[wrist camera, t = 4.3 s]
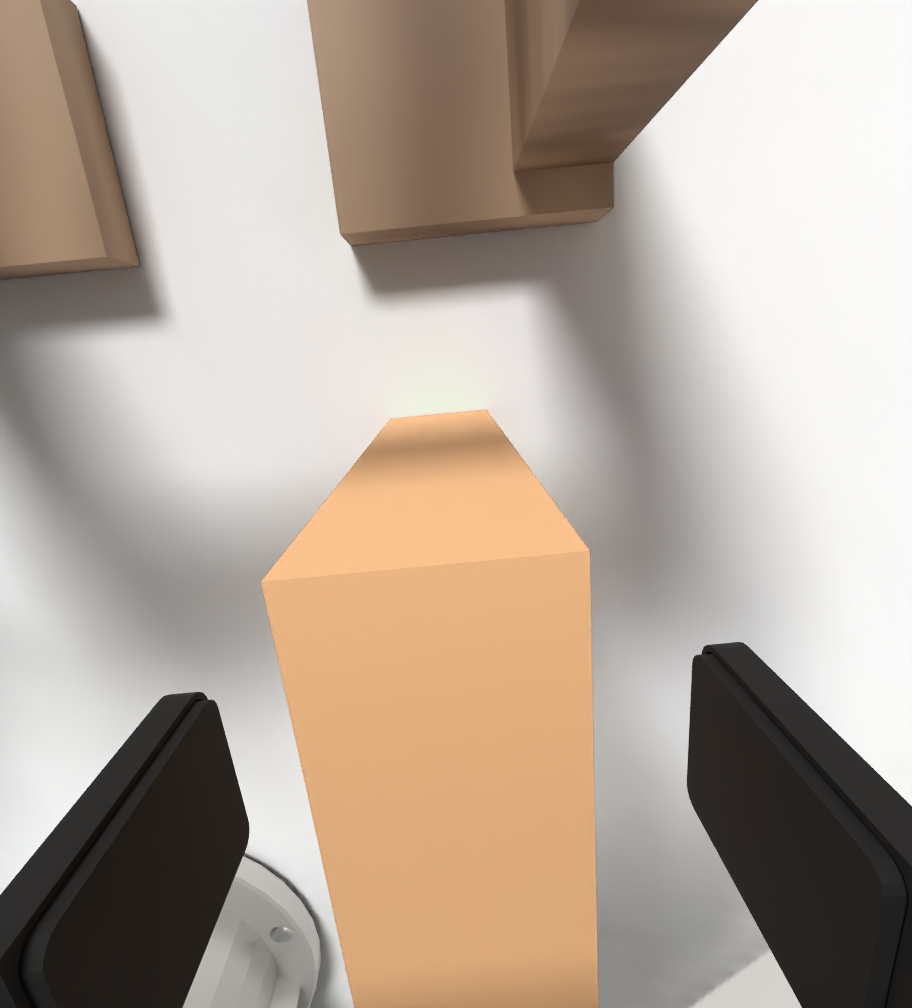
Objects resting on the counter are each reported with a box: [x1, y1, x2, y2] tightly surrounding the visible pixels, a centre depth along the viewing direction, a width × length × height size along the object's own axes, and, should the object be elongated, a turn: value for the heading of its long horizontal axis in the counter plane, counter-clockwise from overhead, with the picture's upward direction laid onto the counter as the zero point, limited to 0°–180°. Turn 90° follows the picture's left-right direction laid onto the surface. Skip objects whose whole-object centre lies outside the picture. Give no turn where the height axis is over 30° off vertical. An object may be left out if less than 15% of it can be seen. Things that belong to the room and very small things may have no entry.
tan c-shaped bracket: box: [261, 410, 599, 1008], centre depth 12 cm, size 3×9×12 cm, turn 5°
